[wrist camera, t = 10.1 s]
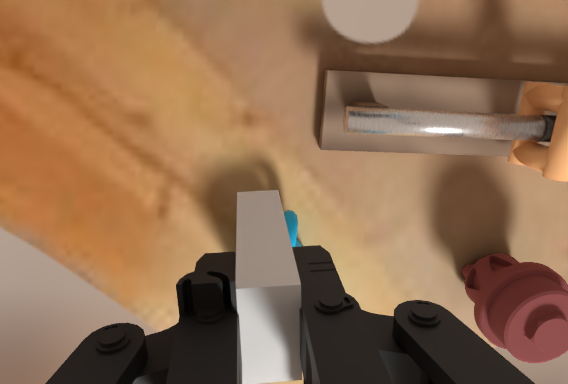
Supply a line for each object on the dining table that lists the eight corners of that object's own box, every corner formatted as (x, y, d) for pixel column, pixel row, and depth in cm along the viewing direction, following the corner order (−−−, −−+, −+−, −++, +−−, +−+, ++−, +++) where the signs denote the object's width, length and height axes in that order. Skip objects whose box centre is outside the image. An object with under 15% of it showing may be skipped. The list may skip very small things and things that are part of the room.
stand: (325, 69, 45) (336, 72, 40) (614, 85, 48) (661, 90, 43) (318, 146, 48) (328, 159, 42) (594, 156, 51) (637, 170, 45)
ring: (519, 81, 44) (577, 88, 37) (542, 82, 45) (603, 89, 37) (503, 159, 47) (553, 181, 39) (524, 160, 47) (578, 181, 39)
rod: (341, 131, 42) (347, 136, 39) (344, 104, 41) (350, 107, 38) (635, 143, 45) (657, 148, 42) (643, 118, 44) (666, 122, 41)
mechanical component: (507, 314, 57) (435, 301, 55) (538, 244, 54) (463, 228, 52) (575, 384, 45) (486, 370, 43) (619, 298, 42) (526, 281, 41)
